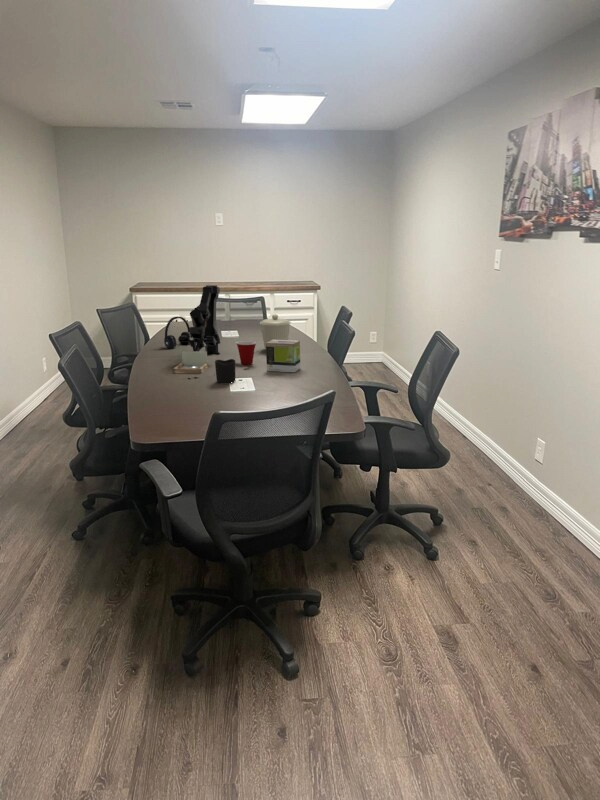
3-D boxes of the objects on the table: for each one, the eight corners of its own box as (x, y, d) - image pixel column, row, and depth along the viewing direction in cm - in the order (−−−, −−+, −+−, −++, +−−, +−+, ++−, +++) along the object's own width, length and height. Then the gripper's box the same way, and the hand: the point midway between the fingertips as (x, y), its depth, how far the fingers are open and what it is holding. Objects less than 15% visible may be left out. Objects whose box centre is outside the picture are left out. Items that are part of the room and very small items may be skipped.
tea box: (300, 368, 281) (300, 340, 277) (294, 373, 272) (293, 343, 268) (273, 366, 286) (272, 338, 281) (266, 371, 277) (265, 342, 272)
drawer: (183, 367, 284) (182, 351, 282) (207, 367, 283) (206, 351, 280) (175, 374, 272) (173, 357, 269) (200, 374, 270) (199, 357, 268)
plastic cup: (260, 362, 294) (260, 340, 290) (250, 367, 285) (250, 344, 281) (243, 361, 298) (242, 339, 295) (233, 365, 289) (231, 343, 285)
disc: (195, 366, 282) (195, 363, 281) (202, 370, 275) (202, 366, 275) (180, 369, 277) (180, 366, 277) (187, 372, 271) (187, 369, 271)
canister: (286, 346, 336) (285, 311, 329) (295, 351, 319) (294, 315, 313) (257, 348, 330) (256, 313, 324) (265, 354, 314) (263, 317, 307)
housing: (181, 368, 284) (181, 362, 283) (208, 369, 282) (208, 362, 281) (173, 375, 271) (173, 369, 270) (201, 375, 269) (200, 369, 268)
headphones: (171, 349, 329) (168, 319, 323) (162, 348, 332) (160, 318, 327) (194, 344, 345) (192, 315, 340) (186, 343, 349) (184, 314, 343)
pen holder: (227, 385, 252) (226, 364, 249) (211, 382, 257) (210, 361, 254) (240, 380, 260) (239, 360, 257) (224, 378, 265) (223, 357, 262)
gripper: (177, 320, 283) (172, 345, 276) (213, 320, 281) (209, 346, 274) (183, 332, 293) (178, 357, 286) (217, 332, 291) (213, 357, 284)
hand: (194, 354), depth 282 cm, fingers closed, pressing on drawer
